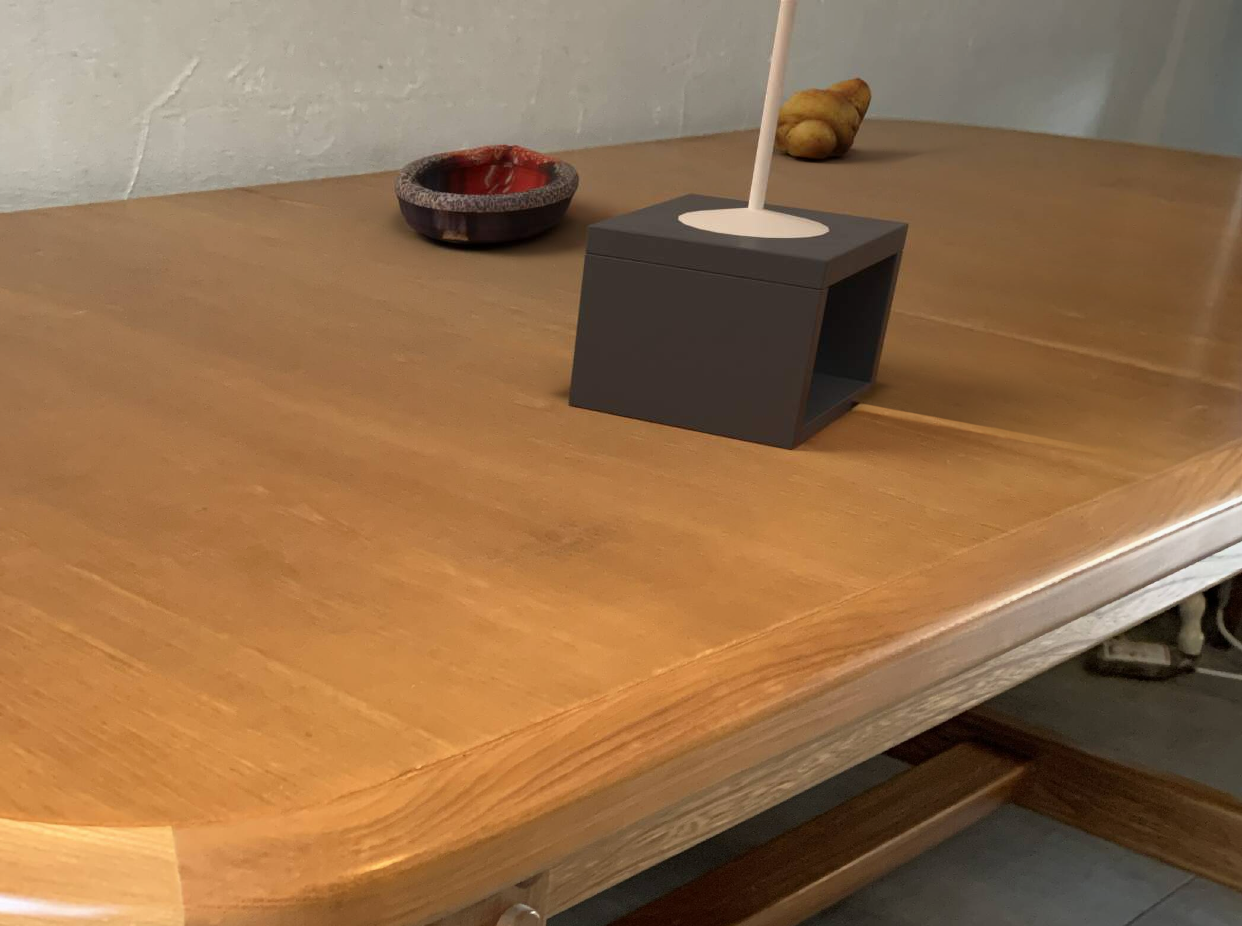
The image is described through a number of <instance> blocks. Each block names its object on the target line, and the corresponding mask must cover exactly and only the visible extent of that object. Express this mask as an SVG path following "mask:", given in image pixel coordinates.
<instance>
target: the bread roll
mask: <svg viewBox="0 0 1242 926" xmlns="http://www.w3.org/2000/svg"><path fill="white" fill-rule="evenodd" d="M871 100H872V91H871V87H870V86H869V84H868V83H867V82H866V81H865V80H863V79H861V78H860V77H859V76H858V77H855V78H851V79H848V80H843V81H839V82H836V83H834V84H832V85H830V86H828V87H827V88H825V89H819V88H810V89H806V90H801V91H798V92H797V91H795V92H793V95H791V96H790V97H789V98H788V99H787V101H785V102H784V103H783V104H782V105H781V106H780V109H779V115H778V122H777V128H776V134H775V140H774V146H775V147H776V149H777V150H780V152H781V151H782V152H783V153H786V154H788V155H790V156H792V157H799V158H808V159H817V160H821V159H822V160H823V159H826V158H834V157H841V156H843V155H846V154H847V153H848V151H849V150H851V148H852V147H853V145H854V143H855V138H856V136H857V133H858V132H859V129H860V126H861V124H862V122H863V120H864V118H865V116H866V114H867V112H868V109H869V107H870V104H871Z"/></svg>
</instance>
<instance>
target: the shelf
mask: <svg viewBox="0 0 1242 926" xmlns="http://www.w3.org/2000/svg"><path fill="white" fill-rule="evenodd" d="M748 205H749V200H743V199H742V200H741V199H735V198H734V199H733V198H728V197H727V198H726V197H720V196H712V195H706V194H705V195H704V194H699V193H698V194H697V193H688V194H685V195H681V196H678V197H675V198H671V199H668V200H665V201H662V202H659V203H655V204H653V205H649V206H646V207H643V208H639V209H636V210H633V211H630V212H626V213H624V214H621V215H618V216H615V217H614V216H613V217H611V218H608V219H603V220H601V221H598V222H595V223H591V224H588V227H587V237H586V244H585V253H584V262H583V270H582V279H581V287H580V297H579V306H578V315H577V323H576V331H575V341H574V351H573V359H572V368H571V376H570V386H569V394H568V406H572V407H577V408H581V409H587V410H591V411H596V412H601V413H607V414H612V415H616V416H622V417H627V418H631V419H638V420H642V421H647V422H651V423H657V424H661V425H667V426H671V427H675V428H676V427H678V428H680V429H681V428H682V429H687V430H692V431H697V432H703V433H707V434H712V435H716V436H721V437H727V438H732V439H736V440H742V441H746V442H751V443H757V444H762V445H765V446H773V447H776V448H782V449H787V450H793V449H795V448H796V447H798V446H799V445H801V444H802V443H804V442H805V441H807V440H808V439H810V438H812V437H813V436H814V435H816V434H817V433H819V432H821V431H822V430H823V429H824V428H826V427H828V426H829V425H830V424H832V423H834V422H835V421H837V420H838V419H839V418H841V417H843V416H844V415H845V414H847V413H848V412H850V411H851V410H853V409H854V408H856V407H857V406H859V405H860V404H861V402H858V401H855V400H856V399H858V398H859V397H861V396H862V395H864V394H866V393H867V392H868V391H870V390H871V389H873V388H874V387H876V381H877V377H878V372H879V367H880V362H881V358H882V353H883V348H884V344H885V338H886V334H887V329H888V325H889V320H890V316H891V310H892V305H893V301H894V297H895V292H896V287H897V282H898V278H899V272H900V268H901V264H902V263H901V262H902V259H903V254H904V249H905V244H906V239H907V235H908V230H909V226H910V225H909V223H908V222H903V221H895V220H888V219H881V218H874V217H866V216H859V215H852V214H845V213H837V212H829V211H822V210H815V209H809V208H808V209H807V208H800V207H792V206H786V205H778V204H773V203H772V204H771V203H764V207H763V209H766V210H770V211H774V212H779V213H783V214H787V215H792V216H796V217H801V218H805V219H808V220H812V221H815V222H819V223H821V224H823V225H825V226H827V227H828V229H829V232H827V233H825V234H823V235H818V236H812V237H801V238H764V237H751V236H739V235H732V234H724V233H717V232H712V231H708V230H703V229H698V228H695V227H692V226H689V225H686V224H684V223H682V222H681V221H679V220H678V218H679V216H680V215H682V214H685V213H689V212H696V211H705V210H720V209H736V208H748Z"/></svg>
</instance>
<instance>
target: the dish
mask: <svg viewBox="0 0 1242 926" xmlns="http://www.w3.org/2000/svg"><path fill="white" fill-rule="evenodd" d="M393 184H394V185H393V187H394V193H395V195H396V198H397V202H398V205H399V210H400V212H401V214H402V217H403V218H404V220H405V222H406V223H407V225H408V226H409V227H410V228H411V229H413V230H414V231H416V232H417V233H420V234H422V235H424V236H426V237H428V238H431V239H433V240H438V241H441V242H447V243H452V244H453V243H454V244H463V245H464V244H465V245H466V244H467V245H484V244H485V245H487V244H489V245H490V244H499V243H507V242H512V241H518V240H523V239H527V238H530V237H532V236H535V235H538V234H540V233H542V232H544V231H546V230H548V229H550V228H551V227H553V226H555V225H556V224H558V223H559V221H561V219H562V218H563V216H564V215H565V213H566V212H567V210H568V209H569V207H570V205H571V202H572V200H573V197H574V196H575V193H576V192H577V190H578V188H579V184H580V176H579V174H578V171H577V169H576V168H575V166H573V165H572V164H570V163H568V162H566V161H564V160H562V159H559V158H556V157H553V156H549V155H547V154H544V153H541V152H539V151H536V150H533V149H530V148H526V147H524V146H520V145H515V144H513V145H508V144H494V145H493V144H492V145H485V146H483V145H482V146H478V147H474V148H468V149H459V150H455V151H454V150H453V151H447V152H441V153H435V154H431V155H427V156H423V157H421V158H417V159H416V160H413V161H411V162H409V163H408V164H405V165H404V166H403V167H402V168H401V169H400V171H398V173H397V175H396V176H395V178H394V183H393Z"/></svg>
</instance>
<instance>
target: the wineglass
mask: <svg viewBox="0 0 1242 926" xmlns="http://www.w3.org/2000/svg"><path fill="white" fill-rule="evenodd" d="M797 6H798V0H780V3H779V11H778V16H777V23H776V29H775V36H774V42H773V49H772V55H771V61H770V67H769V68H770V69H769V73H768V80H767V86H766V91H765V92H766V93H765V99H764V106H763V111H762V118H761V123H760V130H759V137H758V143H757V148H756V149H757V150H756V154H755V161H754V168H753V174H752V181H751V187H750V192H749V198H748V199H749V200H748V201H749V205H748V208H736V209H720V210H705V211H696V212H689V213H685V214H682V215H680V216H679V218H678V220H679V221H681V222H682V223H684V224H686V225H689V226H692V227H695V228H698V229H703V230H708V231H712V232H717V233H724V234H732V235H739V236H751V237H764V238H801V237H812V236H818V235H823V234H825V233H827V232H829V229H828V227H827V226H825V225H823V224H821V223H819V222H815V221H812V220H808V219H805V218H801V217H796V216H792V215H787V214H783V213H779V212H774V211H770V210H766V209H763V207H764V204H765V201H766V200H765V199H766V193H767V187H768V182H769V176H770V170H771V164H772V157H773V152H774V146H775V142H774V140H775V134H776V128H777V122H778V115H779V110H780V108H781V102H782V97H783V96H782V95H783V91H784V84H785V78H786V72H787V66H788V60H789V53H790V47H791V42H792V35H793V31H794V30H793V29H794V24H795V19H796V18H795V17H796V11H797Z"/></svg>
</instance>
